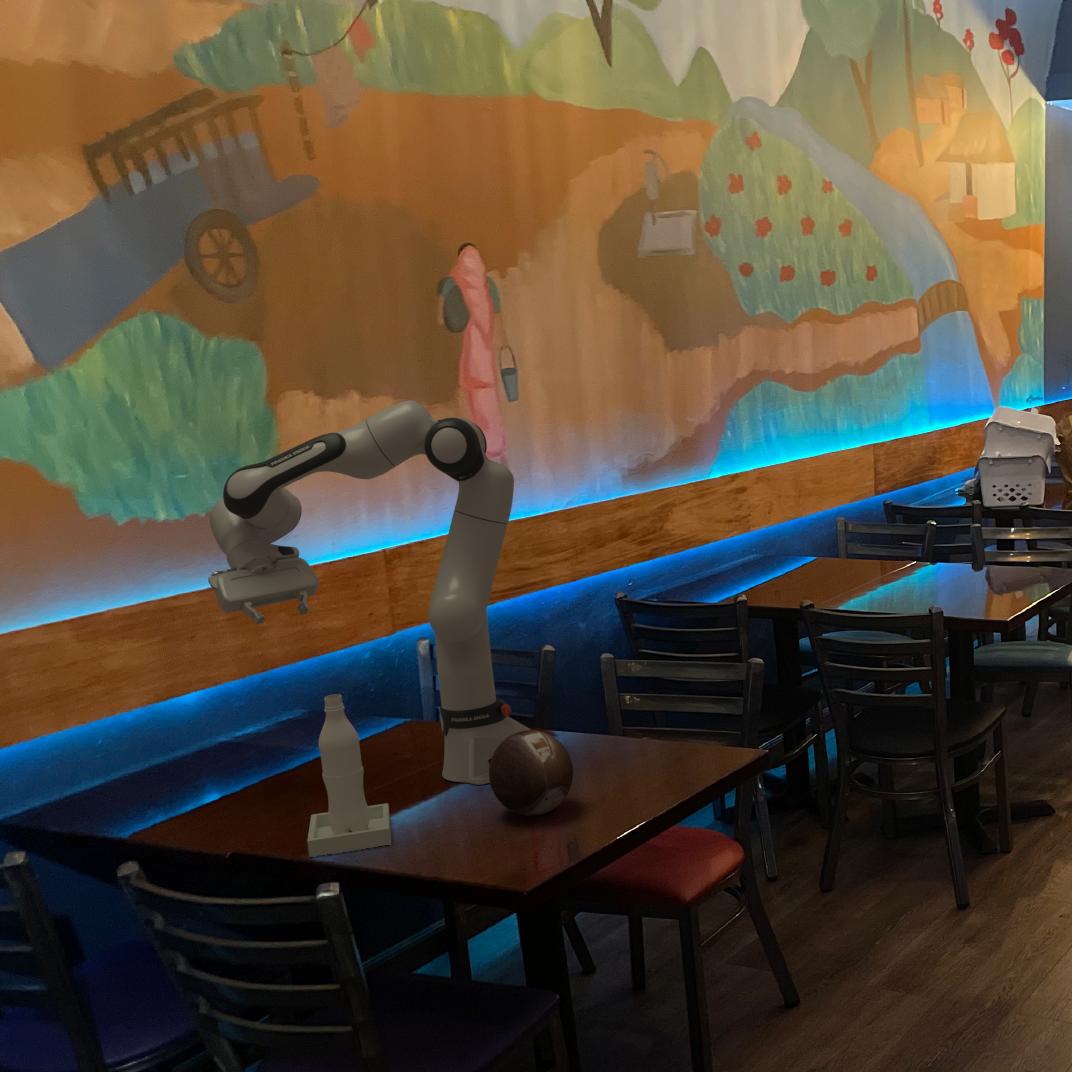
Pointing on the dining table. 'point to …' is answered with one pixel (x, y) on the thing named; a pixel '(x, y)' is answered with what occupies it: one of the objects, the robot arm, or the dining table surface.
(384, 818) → the tray
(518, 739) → the wooden sphere
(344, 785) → the water bottle
